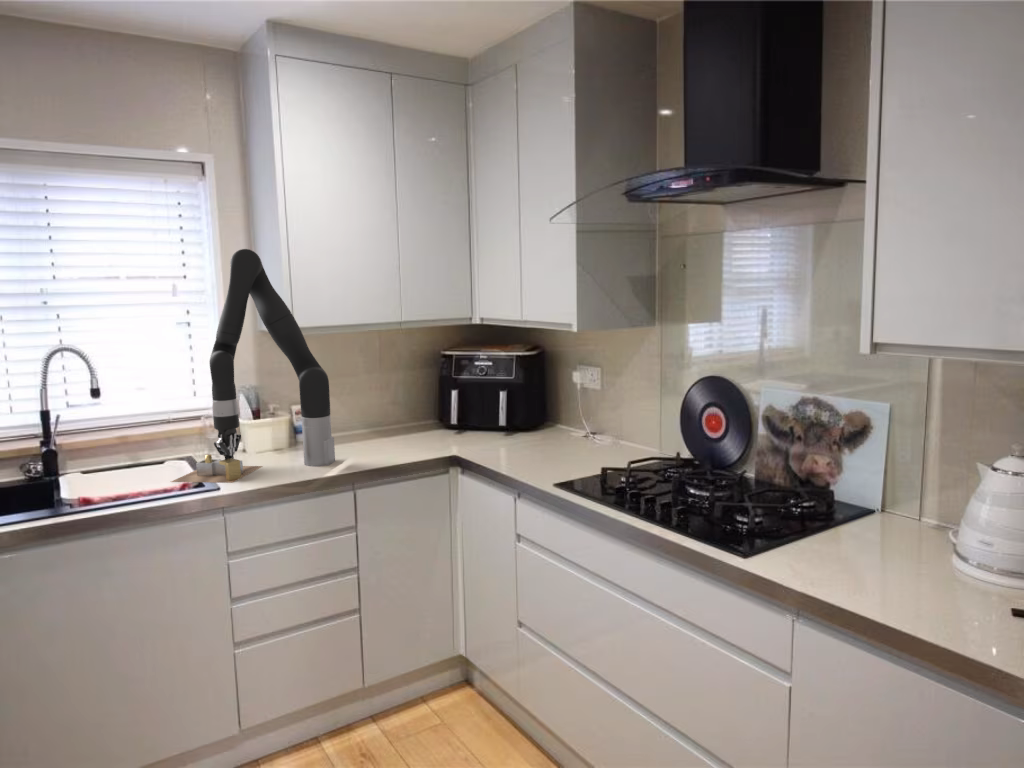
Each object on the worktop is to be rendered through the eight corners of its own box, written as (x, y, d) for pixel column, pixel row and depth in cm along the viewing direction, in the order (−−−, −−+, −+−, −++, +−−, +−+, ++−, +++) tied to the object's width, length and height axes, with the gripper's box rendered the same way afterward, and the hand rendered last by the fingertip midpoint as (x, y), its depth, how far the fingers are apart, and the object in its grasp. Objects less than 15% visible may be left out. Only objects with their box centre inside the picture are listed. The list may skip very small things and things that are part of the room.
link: (245, 471, 230) (244, 459, 229) (236, 476, 224) (235, 463, 224) (206, 471, 231) (205, 459, 231) (197, 475, 226) (196, 463, 226)
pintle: (214, 472, 229) (212, 454, 229) (210, 474, 227) (209, 455, 227) (208, 472, 230) (206, 454, 229) (204, 474, 228) (203, 455, 227)
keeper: (220, 478, 222) (219, 461, 221) (232, 475, 225) (230, 458, 224) (229, 480, 219) (228, 462, 218) (241, 477, 222) (239, 460, 222)
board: (263, 469, 237) (263, 466, 237) (232, 486, 217) (232, 482, 217) (206, 469, 239) (205, 465, 239) (170, 485, 220) (170, 481, 220)
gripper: (225, 417, 222) (230, 472, 224) (247, 409, 235) (251, 461, 237) (203, 417, 223) (207, 472, 225) (225, 409, 236) (229, 461, 238)
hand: (229, 466), depth 231 cm, fingers closed
